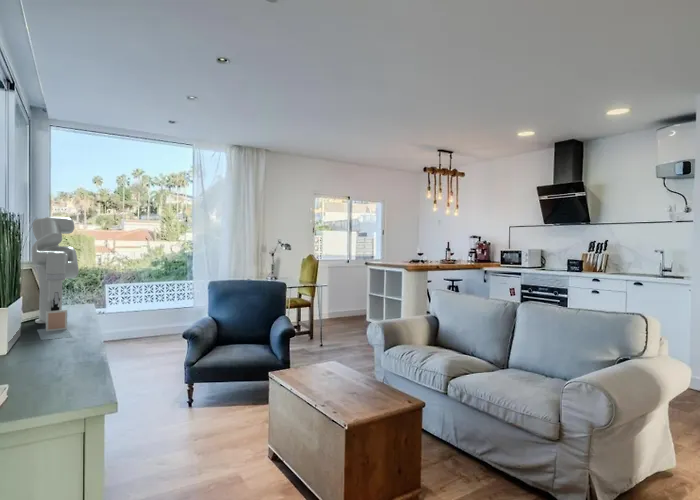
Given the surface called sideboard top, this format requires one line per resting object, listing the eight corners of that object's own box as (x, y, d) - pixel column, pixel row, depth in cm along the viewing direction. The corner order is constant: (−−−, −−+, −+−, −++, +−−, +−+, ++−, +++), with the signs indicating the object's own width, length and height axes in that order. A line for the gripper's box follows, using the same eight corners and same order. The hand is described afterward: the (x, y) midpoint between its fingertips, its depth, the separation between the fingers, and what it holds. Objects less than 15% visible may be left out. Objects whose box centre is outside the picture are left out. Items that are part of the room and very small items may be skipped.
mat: (36, 330, 192) (36, 329, 192) (65, 327, 199) (65, 326, 199) (41, 340, 174) (41, 339, 174) (72, 337, 181) (72, 336, 181)
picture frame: (45, 330, 191) (45, 311, 191) (66, 328, 196) (66, 309, 196) (46, 331, 190) (46, 311, 189) (67, 329, 195) (67, 310, 195)
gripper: (44, 276, 201) (44, 314, 201) (47, 278, 190) (46, 318, 190) (63, 276, 206) (62, 312, 206) (67, 278, 194) (66, 317, 195)
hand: (55, 315), depth 198 cm, fingers closed
